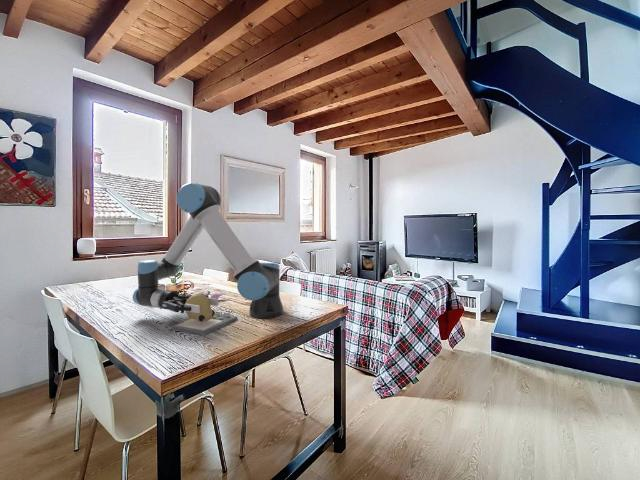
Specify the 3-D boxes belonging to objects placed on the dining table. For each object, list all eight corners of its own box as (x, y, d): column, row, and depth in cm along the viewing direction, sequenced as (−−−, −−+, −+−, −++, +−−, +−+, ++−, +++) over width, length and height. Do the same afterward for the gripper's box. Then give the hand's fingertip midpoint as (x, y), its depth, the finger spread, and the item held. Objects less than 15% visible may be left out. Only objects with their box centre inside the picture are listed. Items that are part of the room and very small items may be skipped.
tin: (160, 297, 167) (160, 282, 167) (167, 297, 167) (166, 282, 167) (147, 305, 152) (146, 288, 152) (154, 305, 153) (153, 288, 152)
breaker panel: (237, 319, 132) (237, 312, 132) (203, 335, 114) (203, 327, 114) (207, 314, 138) (207, 308, 138) (170, 329, 120) (170, 321, 119)
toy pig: (190, 332, 119) (202, 317, 114) (176, 306, 122) (187, 291, 117) (211, 324, 127) (223, 310, 122) (197, 299, 131) (209, 285, 126)
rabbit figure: (199, 307, 155) (228, 298, 163) (197, 295, 154) (226, 287, 162) (196, 304, 159) (224, 295, 168) (194, 293, 158) (222, 285, 167)
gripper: (186, 301, 140) (227, 307, 132) (141, 316, 119) (187, 324, 111) (186, 285, 139) (227, 290, 131) (141, 297, 119) (186, 303, 110)
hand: (208, 305), depth 121 cm, fingers closed on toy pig, 10 cm apart
